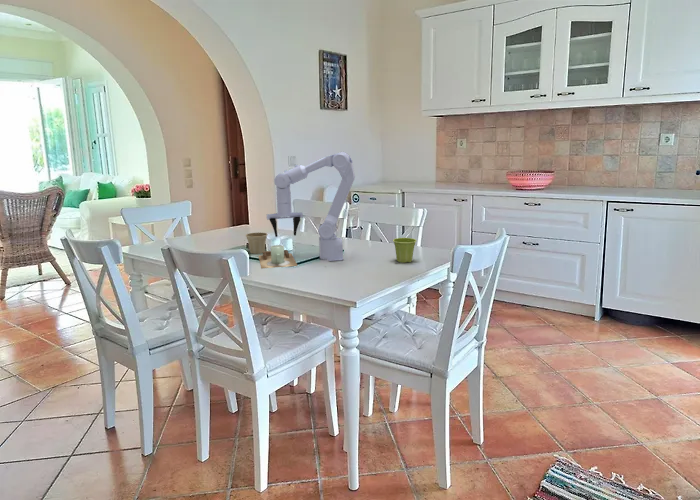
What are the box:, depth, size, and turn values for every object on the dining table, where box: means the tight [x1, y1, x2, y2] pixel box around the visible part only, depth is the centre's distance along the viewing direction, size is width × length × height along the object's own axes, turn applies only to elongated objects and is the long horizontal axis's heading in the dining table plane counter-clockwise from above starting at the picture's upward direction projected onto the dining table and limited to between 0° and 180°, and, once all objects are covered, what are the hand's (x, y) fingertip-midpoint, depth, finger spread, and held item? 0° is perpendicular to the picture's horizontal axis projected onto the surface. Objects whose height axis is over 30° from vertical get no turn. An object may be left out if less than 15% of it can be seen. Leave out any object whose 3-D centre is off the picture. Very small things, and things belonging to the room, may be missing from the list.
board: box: [258, 249, 298, 270], centre depth 210 cm, size 14×22×3 cm, turn 13°
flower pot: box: [245, 232, 268, 255], centre depth 225 cm, size 9×9×9 cm
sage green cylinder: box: [270, 244, 285, 264], centre depth 203 cm, size 5×8×6 cm, turn 12°
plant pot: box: [392, 237, 417, 264], centre depth 207 cm, size 9×9×9 cm
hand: (285, 235), depth 213 cm, fingers open, 7 cm apart
